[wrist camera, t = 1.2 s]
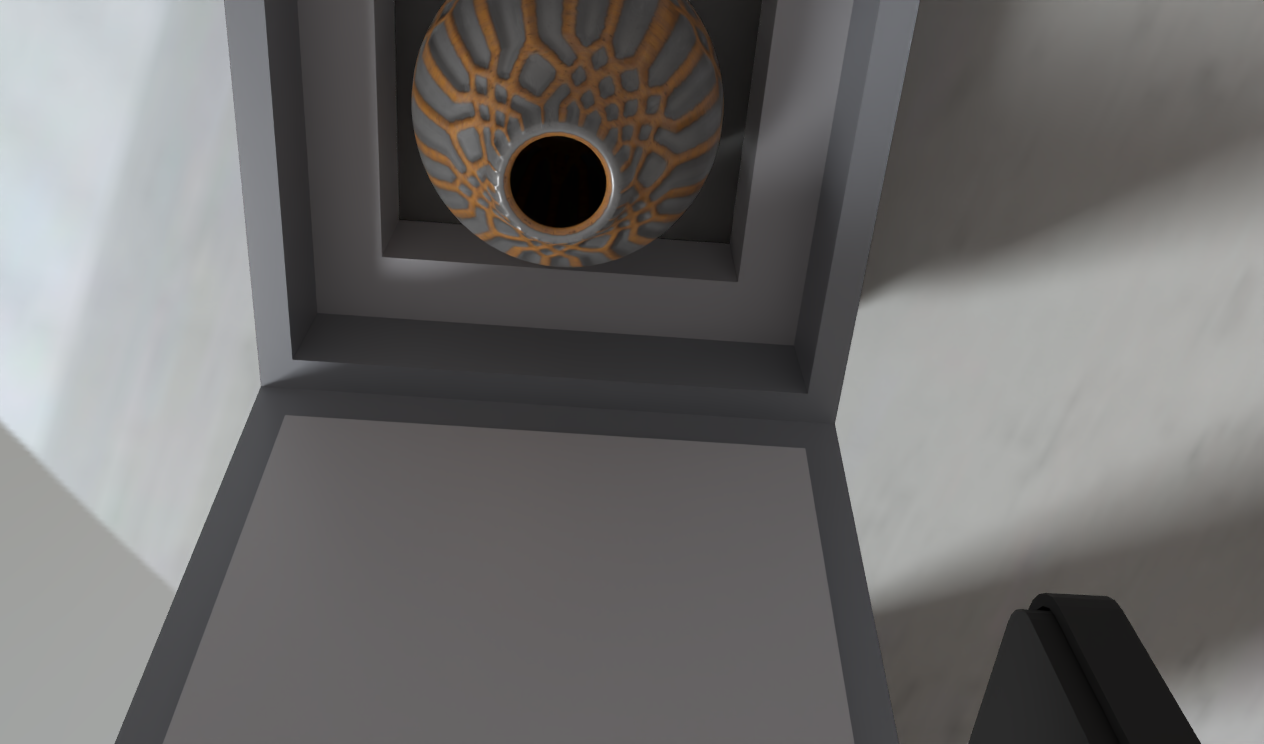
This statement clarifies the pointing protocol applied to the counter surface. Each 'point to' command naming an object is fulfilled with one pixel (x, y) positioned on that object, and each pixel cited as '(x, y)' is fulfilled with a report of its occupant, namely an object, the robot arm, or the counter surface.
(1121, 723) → the robot arm
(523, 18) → the vase
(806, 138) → the equipment case
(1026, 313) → the counter surface
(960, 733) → the counter surface
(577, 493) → the case lid
